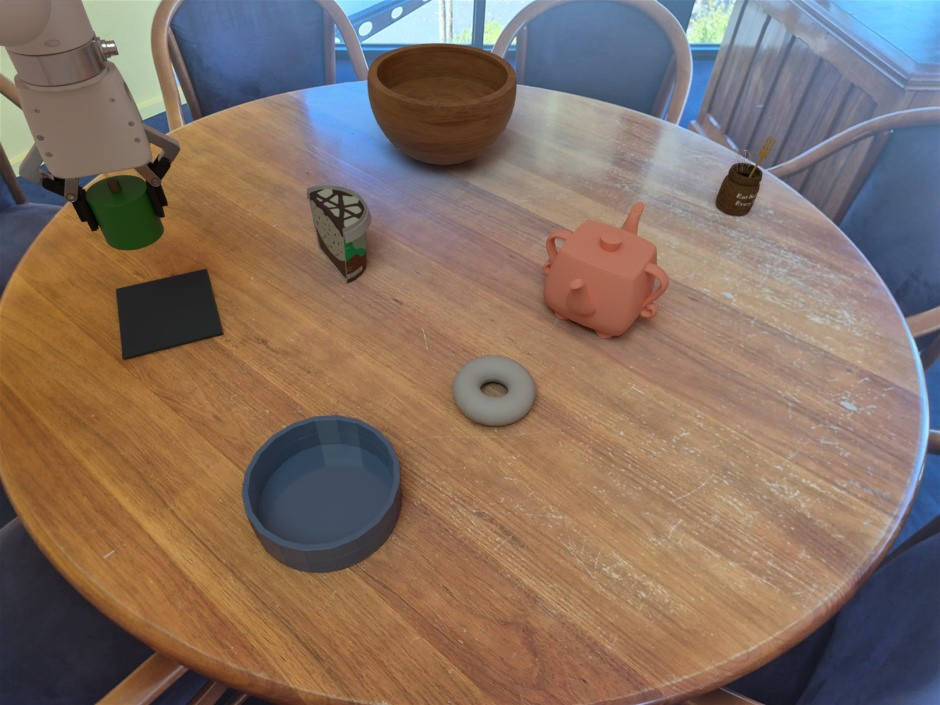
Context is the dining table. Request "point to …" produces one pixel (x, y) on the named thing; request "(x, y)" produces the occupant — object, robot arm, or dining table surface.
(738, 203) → the utensil holder
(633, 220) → the teapot
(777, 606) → the dining table surface
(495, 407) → the donut
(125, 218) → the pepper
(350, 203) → the food container
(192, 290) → the mat
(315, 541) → the serving bowl
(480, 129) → the bowl
